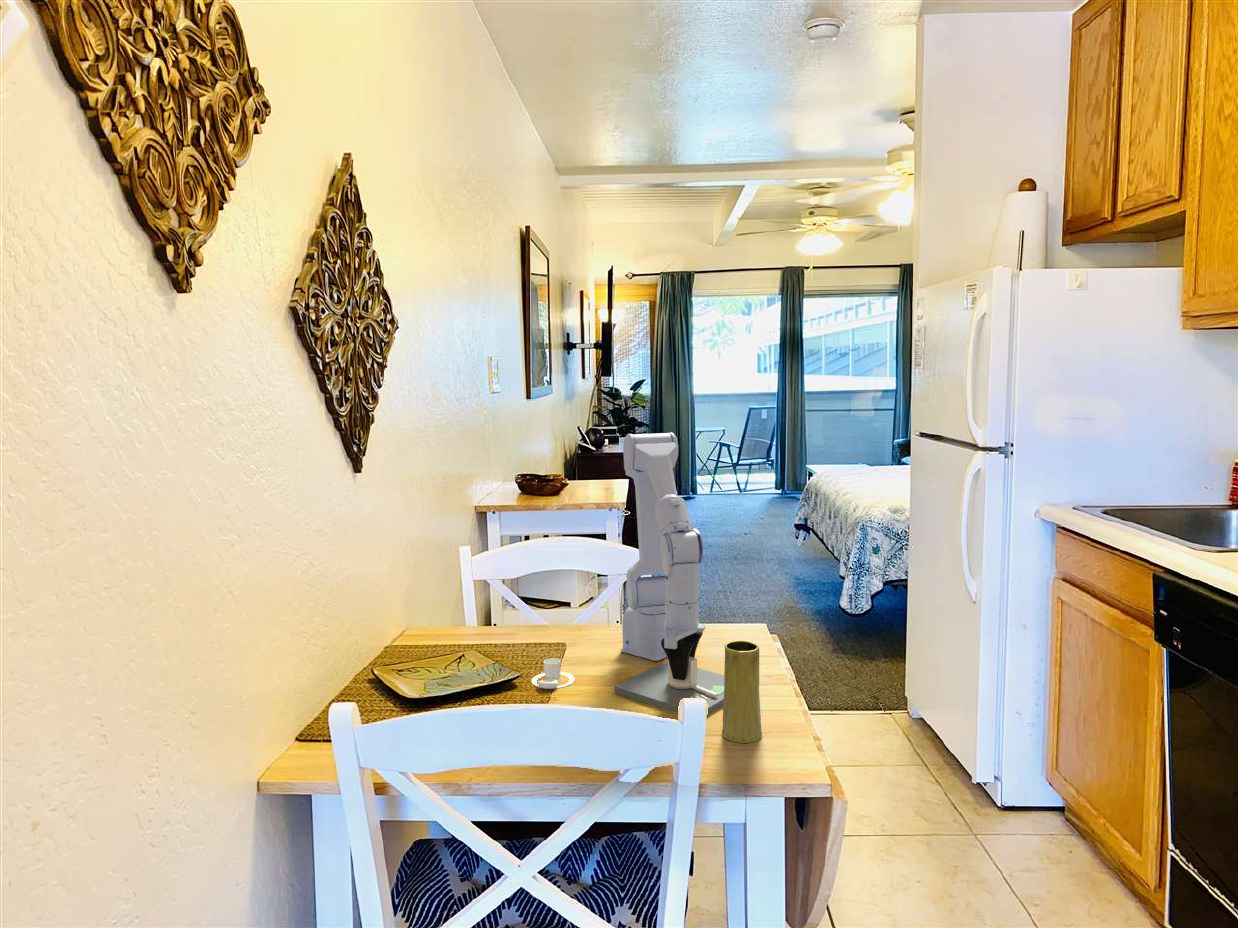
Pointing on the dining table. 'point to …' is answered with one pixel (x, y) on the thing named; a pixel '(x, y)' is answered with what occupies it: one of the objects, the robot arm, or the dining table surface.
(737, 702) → the vase
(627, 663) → the dining table surface
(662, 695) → the dial board
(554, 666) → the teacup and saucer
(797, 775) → the dining table surface
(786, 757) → the dining table surface
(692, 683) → the knob
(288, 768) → the dining table surface
